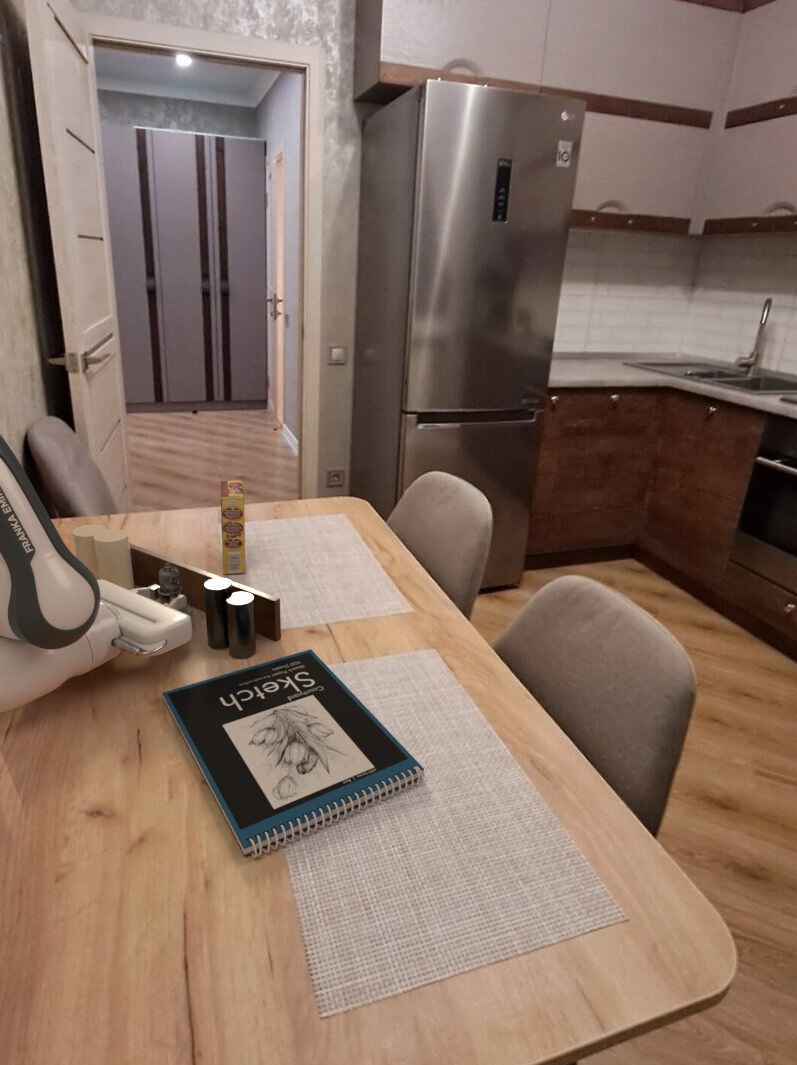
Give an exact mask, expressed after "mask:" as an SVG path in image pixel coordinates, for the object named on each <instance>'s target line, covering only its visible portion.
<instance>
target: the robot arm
mask: <svg viewBox="0 0 797 1065" xmlns="http://www.w3.org/2000/svg"><path fill="white" fill-rule="evenodd" d="M159 588H160V586H159V585H157V584H154V585H152V586H149V587H145V588H144V587H135V589H131V590H127V589H125V588H122V587H120V586H118V585H115V584H113V583H110V582H108V581H106V580H96V578H95V576H94V575H93V573H92V572H91V571H90V570H89V569H88V568H87V567H86V566H85V565H84V564H83V563H82V562H81V561H80V560H78V559H77V558H76V555H74V553H73V552H71V550H70V549H69V548H68V546H67V545H66V543H65V542H64V541H63V538H62V537H61V535H60V533H59V532H58V530H57V528H56V526H55V524H54V523H53V520H52V519H51V517H50V515H49V513H48V511H47V510H46V508H45V506H44V504H43V502H42V501H41V499H40V497H39V495H38V493H37V491H36V489H35V488H34V486H33V484H32V482H31V480H30V478H29V477H28V474H27V473H26V471H25V470H24V468H23V466H22V464H21V463H20V461H19V459H18V457H17V456H16V454H15V453H14V452H13V450H12V449H11V447H10V446H9V445H8V443H7V441H6V439H5V438H4V437H3V435H2V434H1V433H0V714H2V713H5V712H9V711H12V710H14V709H18V708H20V707H23V706H25V705H27V704H28V703H31V702H33V701H35V700H37V699H40V698H41V697H44V696H46V695H48V694H49V693H51V692H53V691H55V690H57V689H58V688H60V687H61V686H62V685H63V684H64V683H65V682H66V681H67V680H69V679H72V678H73V677H78V676H82V675H85V674H87V673H89V672H91V671H92V670H95V669H96V668H98V667H100V666H101V665H103V664H105V663H108V662H109V661H111V660H113V659H115V658H117V657H118V656H119V655H120V653H122V651H124V652H127V653H129V654H130V655H131V656H134V657H139V656H142V657H147V658H151V657H157V656H159V655H163V654H165V653H168V652H169V651H172V650H175V649H176V648H178V647H180V646H182V645H185V644H187V643H188V642H190V641H191V640H192V637H193V623H192V616H191V617H190V616H189V615H187V614H185V613H182V612H180V611H178V610H179V609H181V608H183V607H185V606H186V604H187V599H186V596H184V595H181V594H179V593H177V594H176V595H173V596H171V597H170V601H171V602H170V603H169V604H168V603H164V604H161V602H158V600H159V599H161V596H160V594H159V593H158V589H159Z"/></svg>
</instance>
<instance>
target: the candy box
mask: <svg viewBox="0 0 797 1065" xmlns="http://www.w3.org/2000/svg"><path fill="white" fill-rule="evenodd" d="M219 487H220V488H219V489H220V490H219V491H220V492H219V493H220V519H221V520H220V522H221V523H220V524H221V547H222V548H221V549H222V568H223V569H222V570H223V571H222V572H223V573H222V574H223V575H241V574H246V528H245V527H246V524H245V523H246V522H245V521H246V520H245V519H246V518H245V494H244V486H243V481H242V480H237V479H235V480H233V479H232V480H223V481H222V480H221V481H219Z"/></svg>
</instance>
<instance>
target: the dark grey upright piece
mask: <svg viewBox="0 0 797 1065" xmlns="http://www.w3.org/2000/svg"><path fill="white" fill-rule="evenodd" d="M165 565H166V566H165V567H163V568H162V569H161V570H160V571H159V581H160V588H159V589H158V593H159V594H160V596H161V598H160V603H161V604H164V603H168V604H169V603H170V602H171V601H170V597H171V596H173V595H176V594H177V593H179V594H181V591H182V590H183V588H182V586H180V583H179V572H178V570H177V568H175V567H173V566H170V563H169V562H167V563H166V564H165ZM178 611H180V612H182V613H185V614H187V615H189V616H190V617H191V618H192V616H191V615H192V614H193V607H191V606H190V605H188V604H186V606H185V607H183V608H181V609H179V610H178Z"/></svg>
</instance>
